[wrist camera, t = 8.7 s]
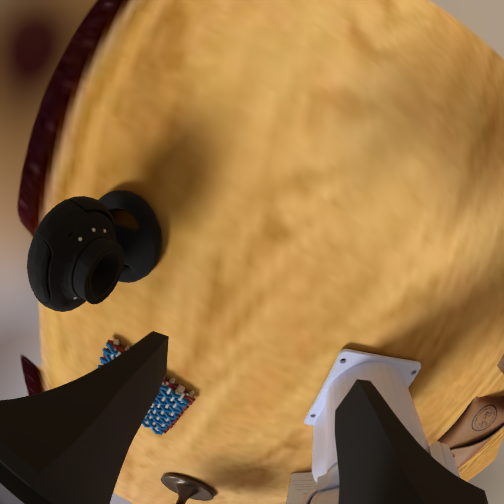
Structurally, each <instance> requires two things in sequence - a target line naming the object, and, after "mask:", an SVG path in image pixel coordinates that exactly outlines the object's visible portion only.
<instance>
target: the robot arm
mask: <svg viewBox="0 0 504 504" xmlns="http://www.w3.org/2000/svg"><path fill="white" fill-rule="evenodd" d="M168 337H169V336H166V335H163V334H160V333H157V332H154V331H153V332H151V333H149V334H148V335H147V336H145V337H144V338H143V339H141V340H140V341H139V342H137V343H136V344H134V345H133V346H132V347H130V348H129V349H127V350H126V351H124V352H123V353H121V354H120V355H118V356H117V357H115V358H114V359H112V360H111V361H109V362H108V363H106V364H104V365H102V366H101V367H99V368H97V369H95V370H94V371H92V372H90V373H88V374H86V375H84V376H82V377H80V378H78V379H76V380H74V381H72V382H69V383H67V384H65V385H62V386H59V387H57V388H54V389H51V390H48V391H45V392H42V393H38V394H34V395H30V396H26V397H21V398H17V399H10V400H1V401H0V504H110V500H111V497H112V494H113V491H114V488H115V485H116V481H117V479H118V476H119V473H120V470H121V467H122V465H123V462H124V460H125V457H126V454H127V452H128V449H129V447H130V445H131V443H132V440H133V438H134V436H135V435H136V433H137V431H138V429H139V427H140V426H141V424H142V422H143V420H144V418H145V417H146V415H147V413H148V411H149V410H150V408H151V406H152V404H153V402H154V401H155V399H156V397H157V395H158V393H159V390H160V388H161V385H162V383H163V380H164V378H165V375H166V370H167V352H168ZM343 358H345V360H343V361H341V359H343ZM420 369H421V364H420V362H418V361H412V360H406V359H400V358H394V357H388V356H382V355H377V354H372V353H366V352H361V351H356V350H351V349H343V350H341V351H340V352H339V355H338V357H337V359H336V361H335V363H334V365H333V367H332V369H331V371H330V373H329V375H328V377H327V379H326V381H325V383H324V385H323V386H322V388H321V390H320V392H319V394H318V396H317V398H316V399H315V401H314V403H313V405H312V407H311V408H310V410H309V412H308V414H307V415H306V417H305V419H304V423H305V424H307V425H313V454H312V475H313V478H314V480H315V481H316V483H317V487H316V490H313V491H311V492H309V493H307V494H306V495H305V496H304V497H303V498H302V500H301V501H300V503H299V504H488V501H487V498H486V495H485V491H484V490H482V489H480V488H478V487H476V486H474V485H472V484H470V483H468V482H466V481H464V480H463V479H461V478H460V476H459V473H458V470H457V467H456V464H455V461H454V458H453V456H452V453H451V450H450V448H449V446H448V444H444V443H440V442H438V441H437V442H435V443H433V444H431V445H430V446H429V444H428V443H427V440H426V436H425V433H424V430H423V428H422V425H421V422H420V419H419V416H418V413H417V411H416V408H415V405H414V402H413V400H412V397H411V395H410V392H409V389H408V388H409V386H410V385H411V383H412V381H413V380H414V378H415V377H416V375H417V374H418V372H419V370H420ZM414 370H415V371H414ZM412 371H414V372H412ZM312 414H314V415H312Z"/></svg>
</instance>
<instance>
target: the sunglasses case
mask: <svg viewBox="0 0 504 504" xmlns="http://www.w3.org/2000/svg"><path fill="white" fill-rule="evenodd" d="M503 426H504V397H475V398H474V399H473V400H472V401H471V403H470V404H469V405H468V407H467V408H466V410H465V411H464V412H463V414H462V415H461V416H460V417H459V419H458V420H457V421H456V422H455V423H454V424H453V425H452V427H451V428H450V429H449V430H448V431H447V432H446V433H445V434H444V435H443V436H442V437H441V438H440V439H439V440H438V442H440V443H444V444H448V446H449V448H450V450H451V453H452V456H453V458H454V461H455V464H456V467H457V469H458V468H460V467H461V466H462V465H463V464H465V463H466V462H467V461H468V460H469V459H470V458H471V457H472V456H474V455H475V454H476V453H477V452H478V451H479V450H480V449H481V448H482V447H483V446H484V445H485V444H486V443H487V442H488V441H489V440H490V439H491V437H492V436H494V435H495V434H496V433H497V432H498V431H499V430H500V429H501V428H502V427H503Z"/></svg>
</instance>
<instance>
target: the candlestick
mask: <svg viewBox="0 0 504 504" xmlns="http://www.w3.org/2000/svg"><path fill="white" fill-rule="evenodd" d="M161 482H162V483H163V484H164V485H165V486H166V487H167V488H169V489H170V490H172V491H174V492H175V493H177V494H178V496H179V498H178V500H177V502H176V504H185V503H186V501H187V500H188V499H189V498H191V499H195V500H202V501H208V500H211V499H213V497H214V494H215V492H214V490H213V489H212V488H211V487H209V486H208V485H206V484H205V483H203V482H201V481H199V480H196V479H194V478H191V477H188V476H185V475H182V474H177V473H164V474H163V476H162V478H161Z"/></svg>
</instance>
